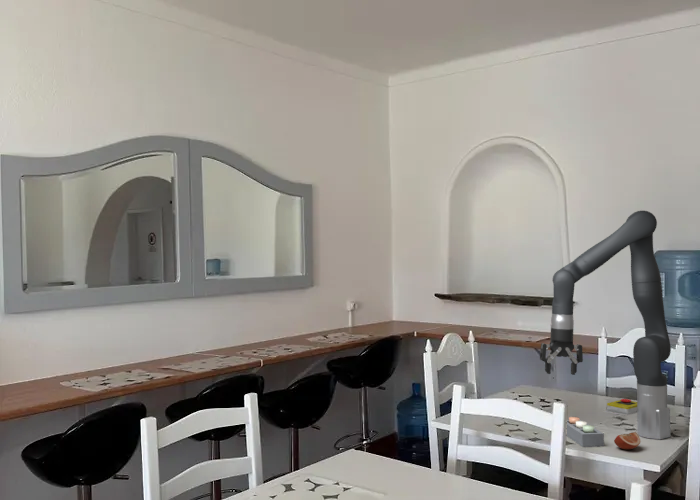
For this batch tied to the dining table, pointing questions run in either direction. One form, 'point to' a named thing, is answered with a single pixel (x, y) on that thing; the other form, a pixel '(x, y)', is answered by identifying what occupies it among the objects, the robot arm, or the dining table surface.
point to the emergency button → (622, 407)
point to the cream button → (580, 424)
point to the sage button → (588, 429)
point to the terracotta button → (573, 420)
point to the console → (585, 436)
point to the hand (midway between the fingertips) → (560, 374)
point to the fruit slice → (627, 440)
